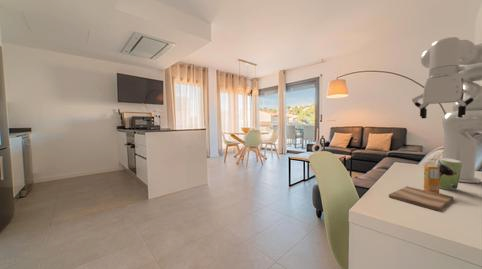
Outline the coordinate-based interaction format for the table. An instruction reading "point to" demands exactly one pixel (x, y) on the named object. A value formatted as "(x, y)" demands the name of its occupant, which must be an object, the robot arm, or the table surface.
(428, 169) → the supplement box
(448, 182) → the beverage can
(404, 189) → the walnut board
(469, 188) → the table surface
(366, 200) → the table surface
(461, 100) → the robot arm
